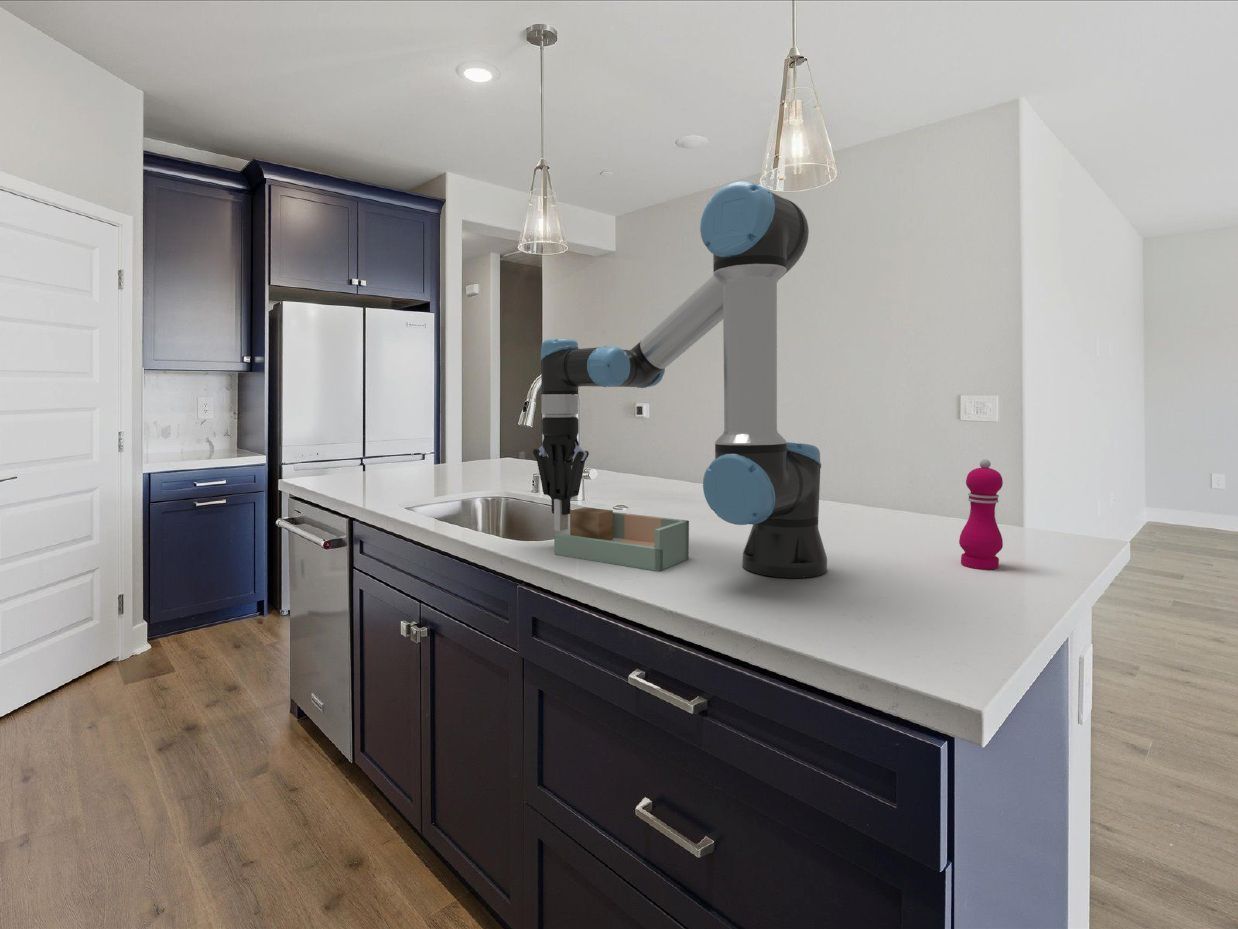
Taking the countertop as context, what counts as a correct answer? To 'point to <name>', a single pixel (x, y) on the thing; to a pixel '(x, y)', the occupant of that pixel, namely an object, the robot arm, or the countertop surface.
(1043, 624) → the countertop surface
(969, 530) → the pepper mill
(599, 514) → the block
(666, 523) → the green open tray
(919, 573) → the countertop surface
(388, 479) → the countertop surface
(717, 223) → the robot arm
